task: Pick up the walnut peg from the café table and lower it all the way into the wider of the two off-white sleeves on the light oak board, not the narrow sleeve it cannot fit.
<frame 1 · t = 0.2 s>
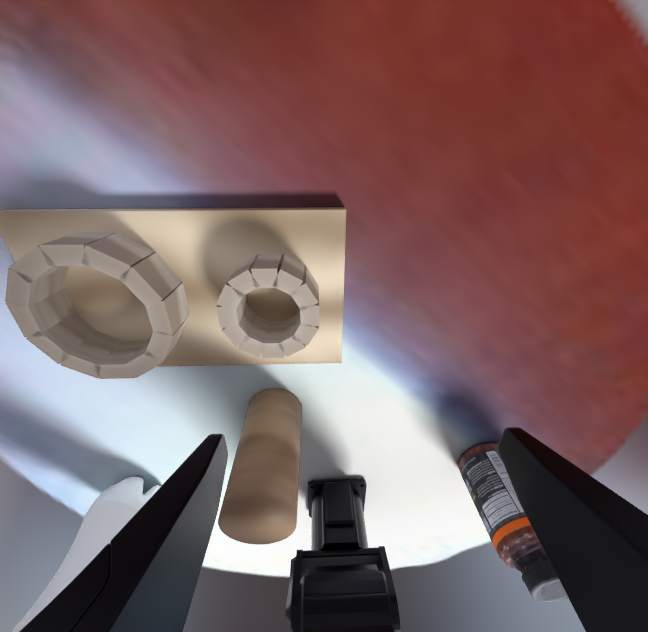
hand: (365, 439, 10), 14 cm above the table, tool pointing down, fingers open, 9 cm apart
walnut peg: (275, 408, 28), on the table
supplement bottle: (483, 456, 33), on the table
sleeve board: (195, 292, 22), on the table
water bottle: (141, 489, 33), on the table
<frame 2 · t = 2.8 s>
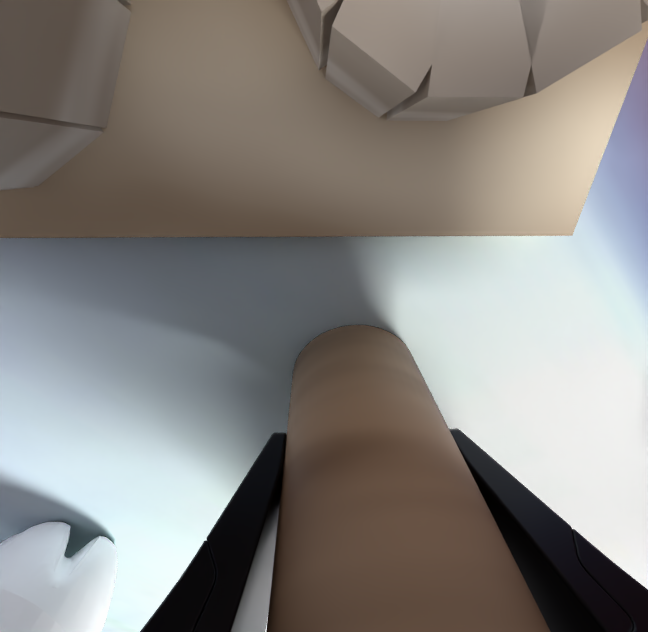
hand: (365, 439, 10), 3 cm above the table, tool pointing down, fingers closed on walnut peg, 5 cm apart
walnut peg: (353, 378, 12), on the table, touching gripper
water bottle: (72, 541, 17), on the table
when the fingers open (5 cm above the table, at t = 9.4 s): walnut peg stays where it is, resting on sleeve board.
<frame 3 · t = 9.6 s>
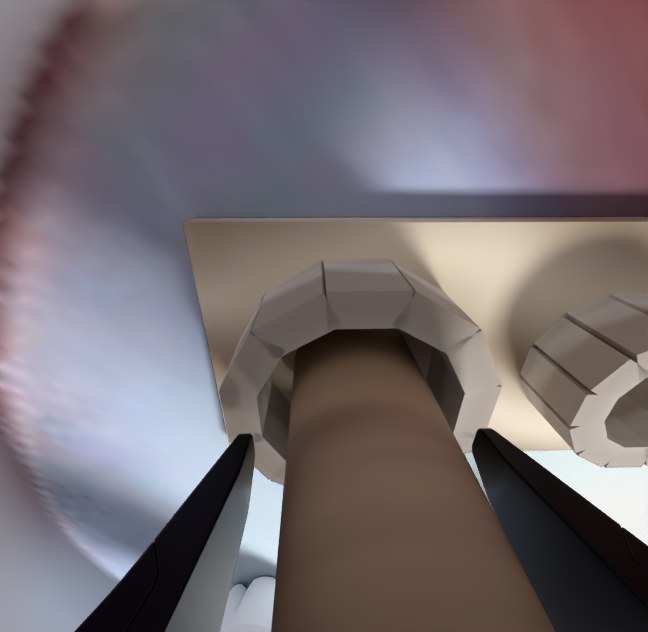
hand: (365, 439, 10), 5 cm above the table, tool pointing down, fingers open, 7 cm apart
walnut peg: (351, 363, 13), point 1 cm above the table, touching sleeve board
sleeve board: (453, 349, 14), on the table
water bottle: (265, 587, 25), on the table
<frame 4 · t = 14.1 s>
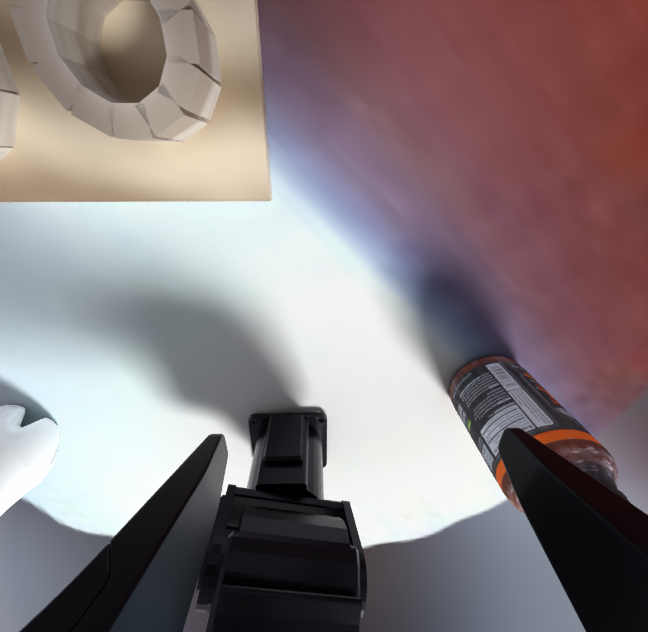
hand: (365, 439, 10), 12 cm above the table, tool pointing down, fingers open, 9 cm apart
supplement bottle: (481, 380, 24), on the table
sleeve board: (32, 66, 14), on the table
water bottle: (29, 426, 25), on the table
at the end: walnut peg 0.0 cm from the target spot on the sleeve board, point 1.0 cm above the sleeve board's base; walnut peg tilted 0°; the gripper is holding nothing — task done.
